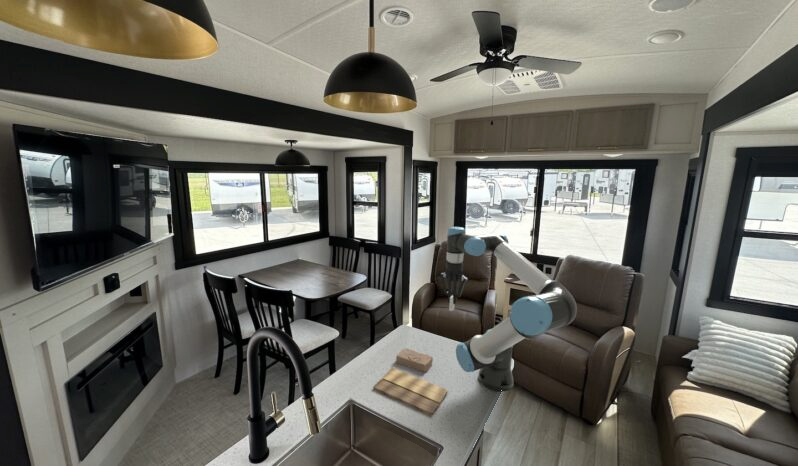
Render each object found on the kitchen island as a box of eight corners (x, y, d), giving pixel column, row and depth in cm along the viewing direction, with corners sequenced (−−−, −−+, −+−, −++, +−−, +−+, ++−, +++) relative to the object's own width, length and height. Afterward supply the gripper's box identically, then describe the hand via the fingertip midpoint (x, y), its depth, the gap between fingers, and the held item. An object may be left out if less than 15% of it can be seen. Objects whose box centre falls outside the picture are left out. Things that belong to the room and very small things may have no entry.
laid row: (438, 406, 124) (438, 403, 124) (432, 416, 119) (432, 413, 118) (381, 381, 138) (381, 378, 138) (373, 389, 133) (373, 386, 133)
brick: (395, 362, 152) (395, 354, 152) (403, 354, 160) (403, 346, 159) (425, 374, 144) (426, 365, 144) (433, 364, 152) (433, 356, 151)
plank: (447, 392, 131) (447, 389, 131) (439, 405, 125) (439, 402, 124) (392, 369, 145) (392, 367, 145) (382, 380, 139) (382, 377, 139)
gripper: (471, 261, 140) (468, 310, 144) (444, 257, 147) (442, 303, 151) (465, 265, 134) (462, 316, 138) (438, 260, 140) (435, 309, 145)
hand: (451, 309), depth 144 cm, fingers closed
